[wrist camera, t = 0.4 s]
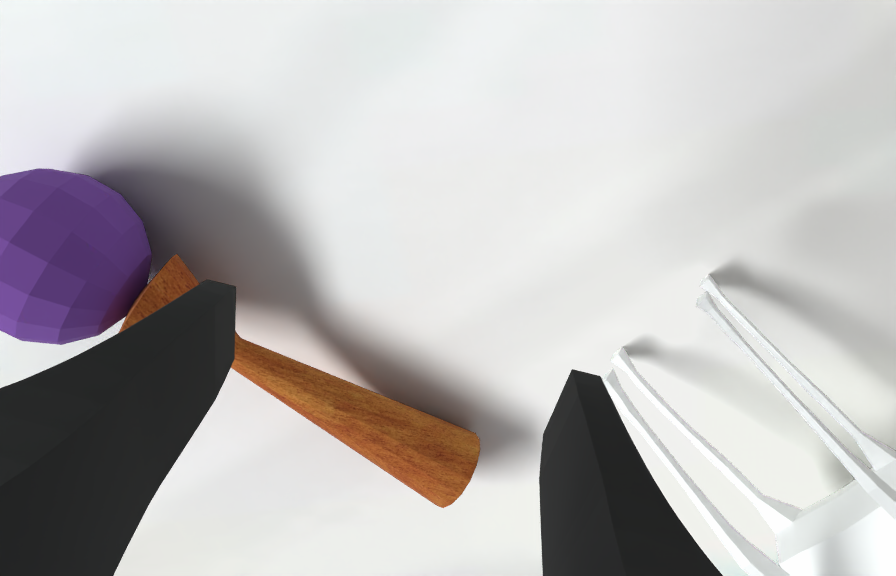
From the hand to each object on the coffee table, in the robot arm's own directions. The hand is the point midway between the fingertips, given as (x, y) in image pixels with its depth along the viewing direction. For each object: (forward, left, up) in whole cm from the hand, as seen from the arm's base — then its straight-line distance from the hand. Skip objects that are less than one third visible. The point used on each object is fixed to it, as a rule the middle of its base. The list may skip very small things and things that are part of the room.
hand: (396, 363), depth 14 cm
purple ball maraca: (-9, +1, -11) cm, 14 cm away
